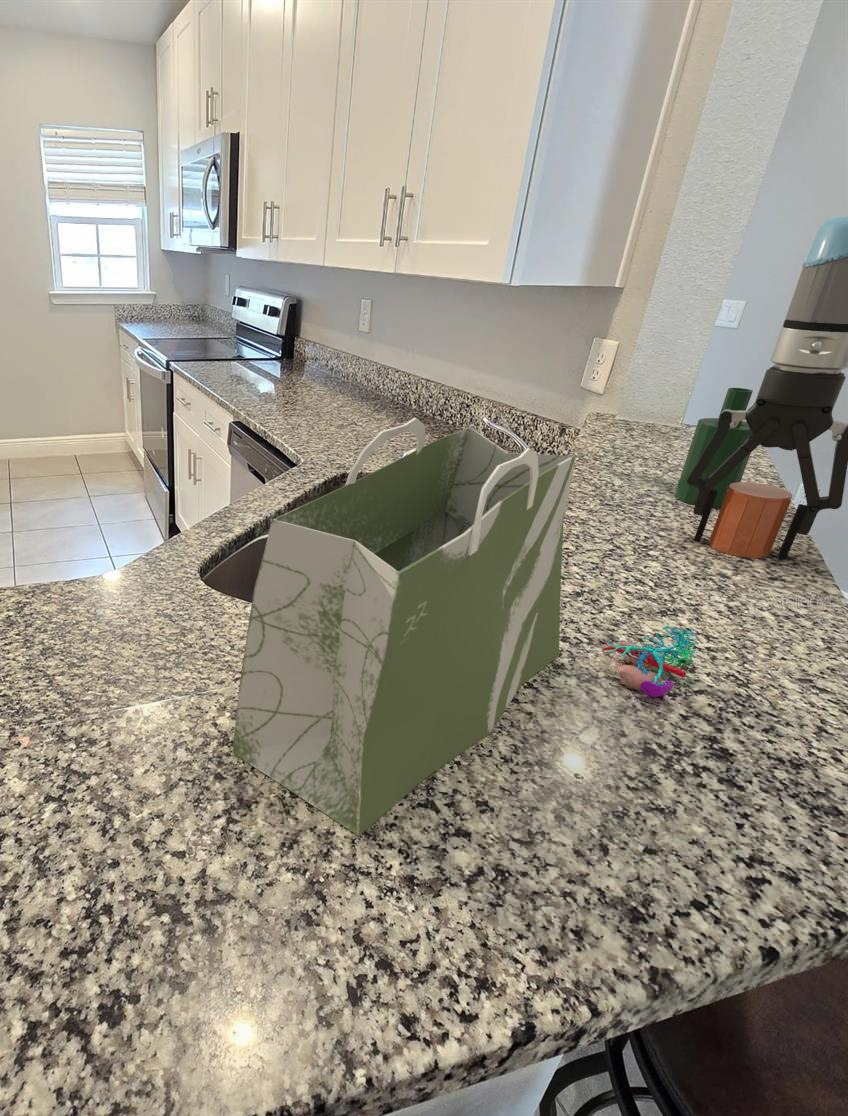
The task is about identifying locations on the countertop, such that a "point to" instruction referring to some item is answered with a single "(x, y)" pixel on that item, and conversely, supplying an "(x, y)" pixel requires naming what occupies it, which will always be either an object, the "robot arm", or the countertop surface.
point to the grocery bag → (400, 619)
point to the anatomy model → (653, 662)
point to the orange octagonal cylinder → (750, 519)
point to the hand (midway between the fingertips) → (739, 546)
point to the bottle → (733, 440)
